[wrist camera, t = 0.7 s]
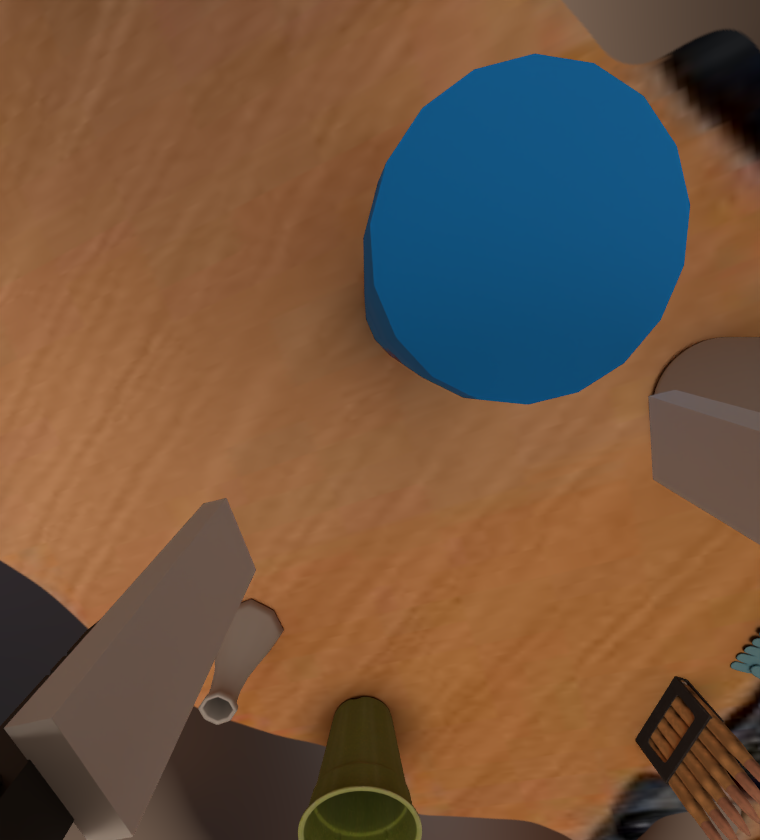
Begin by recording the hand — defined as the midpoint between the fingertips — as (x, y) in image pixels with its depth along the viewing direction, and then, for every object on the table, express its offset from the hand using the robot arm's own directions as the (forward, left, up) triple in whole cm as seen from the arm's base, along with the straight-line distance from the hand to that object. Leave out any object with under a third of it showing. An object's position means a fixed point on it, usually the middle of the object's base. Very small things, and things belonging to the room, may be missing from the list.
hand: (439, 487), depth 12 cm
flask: (+18, -27, -27) cm, 42 cm away
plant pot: (+36, -22, -27) cm, 50 cm away
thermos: (-5, +6, -27) cm, 28 cm away
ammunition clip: (+54, +12, -27) cm, 62 cm away
